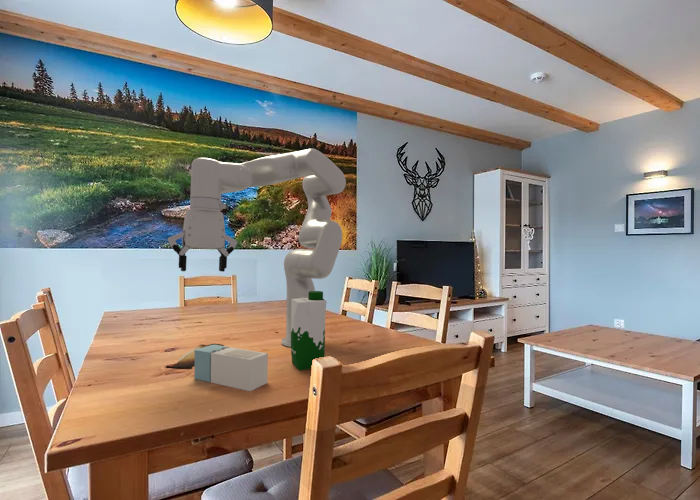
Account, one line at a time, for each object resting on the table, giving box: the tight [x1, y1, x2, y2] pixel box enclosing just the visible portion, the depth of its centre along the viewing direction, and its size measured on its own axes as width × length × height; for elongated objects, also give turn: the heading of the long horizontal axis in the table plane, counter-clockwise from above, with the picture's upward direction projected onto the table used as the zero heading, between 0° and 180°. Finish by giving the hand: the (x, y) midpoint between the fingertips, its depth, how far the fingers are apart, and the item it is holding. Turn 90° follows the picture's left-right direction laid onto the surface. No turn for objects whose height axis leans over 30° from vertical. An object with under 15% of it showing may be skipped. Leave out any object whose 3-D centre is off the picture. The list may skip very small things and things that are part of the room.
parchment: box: [166, 343, 225, 370], centre depth 111 cm, size 25×10×1 cm, turn 0°
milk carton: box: [290, 290, 327, 371], centre depth 103 cm, size 9×9×20 cm
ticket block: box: [210, 346, 269, 392], centre depth 89 cm, size 6×12×7 cm, turn 64°
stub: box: [193, 344, 228, 383], centre depth 93 cm, size 6×5×7 cm
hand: (203, 271), depth 99 cm, fingers open, 9 cm apart
